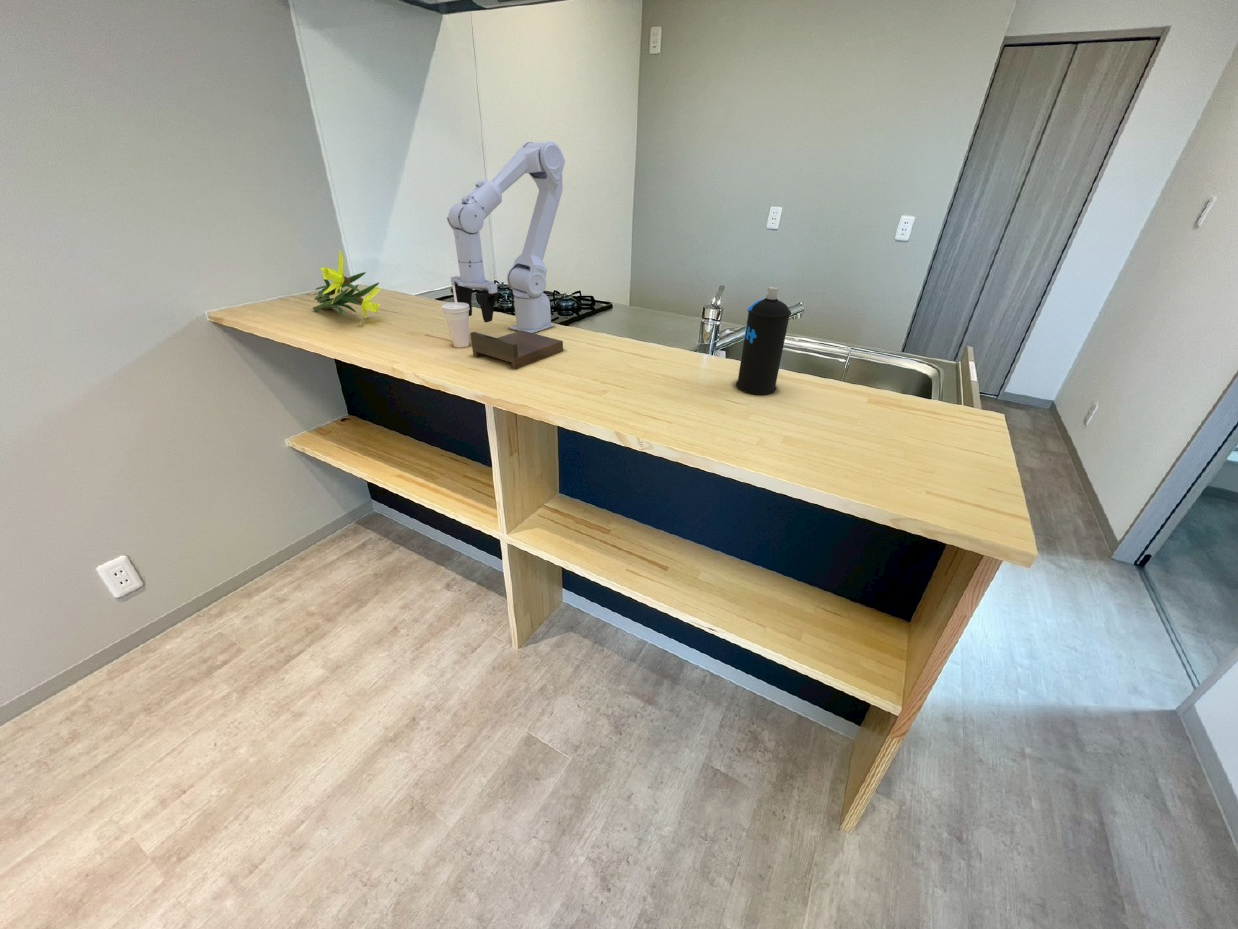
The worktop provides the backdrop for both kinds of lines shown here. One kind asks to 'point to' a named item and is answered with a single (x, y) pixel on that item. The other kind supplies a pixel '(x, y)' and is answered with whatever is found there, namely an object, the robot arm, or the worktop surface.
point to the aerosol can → (763, 345)
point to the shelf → (516, 347)
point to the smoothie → (457, 321)
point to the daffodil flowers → (344, 297)
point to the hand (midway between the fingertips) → (477, 318)
